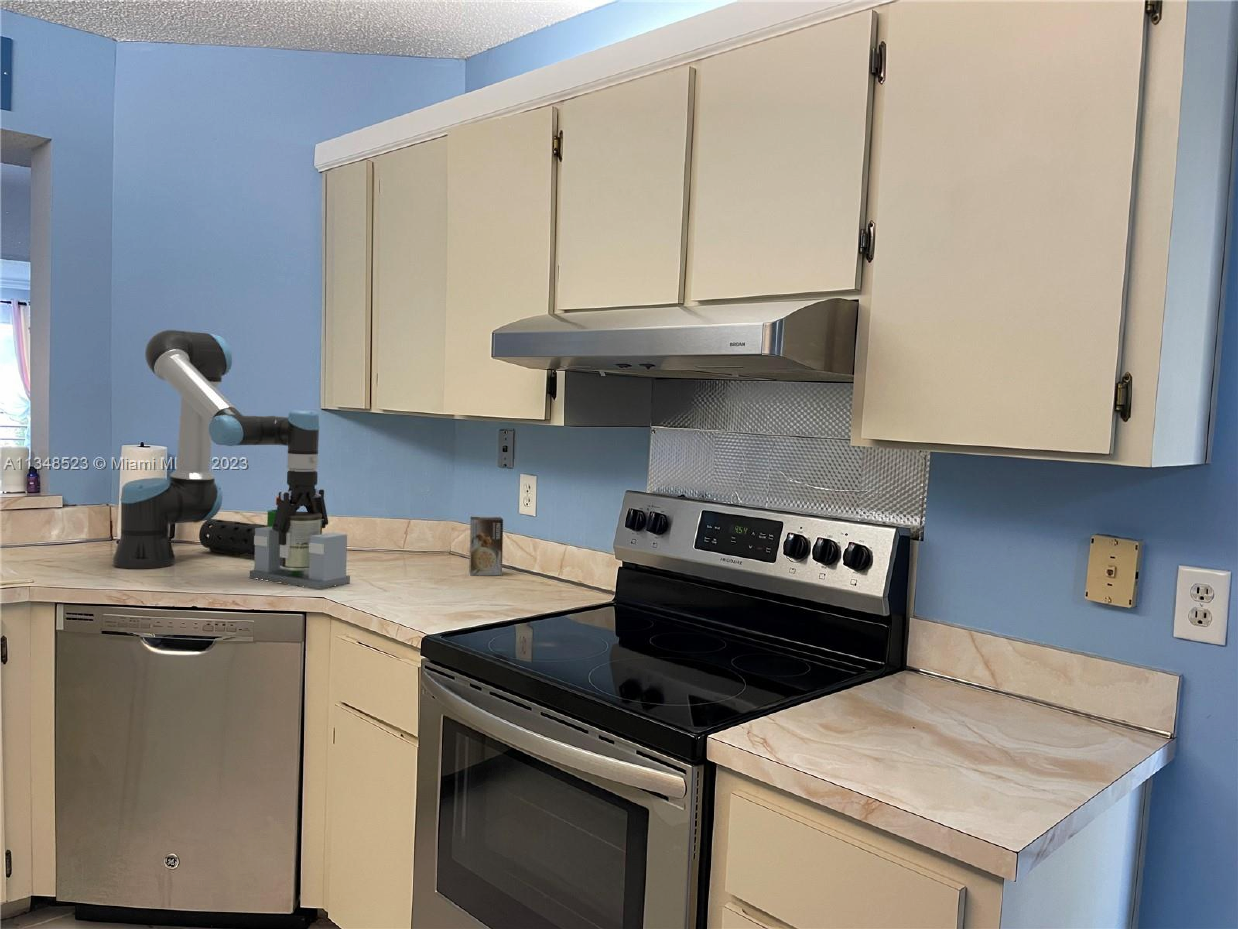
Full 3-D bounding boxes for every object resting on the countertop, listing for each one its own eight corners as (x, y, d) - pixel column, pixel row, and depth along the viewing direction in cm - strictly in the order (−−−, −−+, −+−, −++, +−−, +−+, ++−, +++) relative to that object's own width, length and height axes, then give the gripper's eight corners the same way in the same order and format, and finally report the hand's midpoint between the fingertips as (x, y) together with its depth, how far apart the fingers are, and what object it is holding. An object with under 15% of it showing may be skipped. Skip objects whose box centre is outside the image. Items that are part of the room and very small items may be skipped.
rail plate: (249, 578, 245) (249, 570, 245) (281, 572, 255) (281, 565, 254) (319, 589, 234) (319, 582, 234) (349, 583, 244) (350, 575, 244)
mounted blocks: (252, 570, 245) (253, 528, 245) (277, 566, 253) (278, 525, 252) (322, 581, 235) (323, 538, 234) (346, 576, 243) (347, 534, 242)
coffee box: (500, 571, 271) (502, 516, 270) (502, 575, 265) (504, 519, 264) (468, 571, 269) (470, 516, 268) (469, 575, 263) (471, 518, 262)
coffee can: (270, 567, 242) (271, 513, 241) (300, 562, 251) (302, 510, 250) (299, 572, 237) (300, 517, 236) (329, 567, 246) (330, 514, 246)
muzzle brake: (222, 550, 287) (222, 516, 287) (294, 559, 277) (295, 524, 276) (197, 553, 278) (198, 519, 278) (271, 563, 268) (272, 527, 267)
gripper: (280, 472, 231) (277, 562, 232) (344, 469, 251) (341, 551, 253) (257, 470, 234) (255, 558, 235) (322, 467, 255) (320, 548, 256)
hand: (300, 554), depth 244 cm, fingers closed on coffee can, 10 cm apart
